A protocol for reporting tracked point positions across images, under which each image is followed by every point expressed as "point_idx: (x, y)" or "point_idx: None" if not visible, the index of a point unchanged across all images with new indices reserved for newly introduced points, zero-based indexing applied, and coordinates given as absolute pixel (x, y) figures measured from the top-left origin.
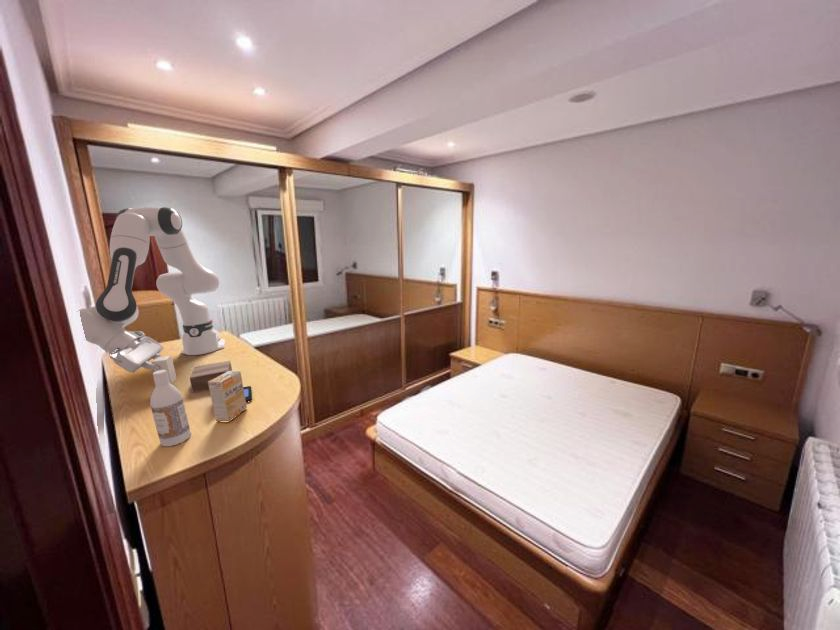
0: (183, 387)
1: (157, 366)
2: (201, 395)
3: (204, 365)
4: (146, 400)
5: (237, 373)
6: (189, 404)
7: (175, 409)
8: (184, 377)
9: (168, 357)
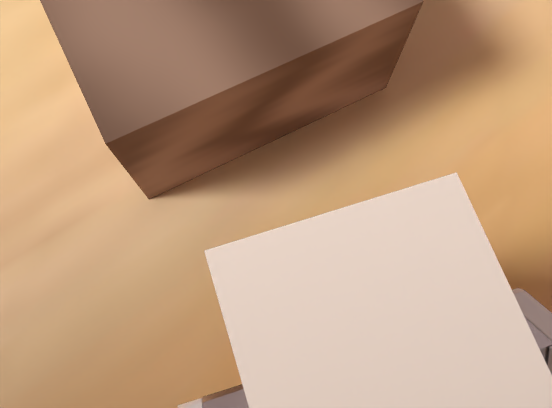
0: None
1: None
2: (422, 6)
3: (82, 60)
4: None
5: None
6: (548, 3)
7: None
8: (41, 399)
9: (325, 222)
